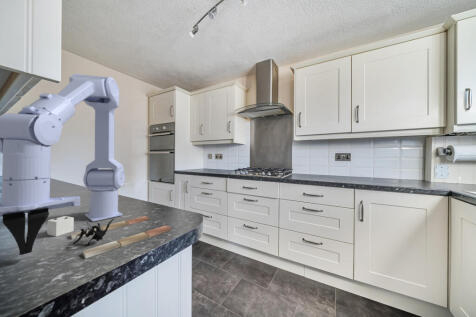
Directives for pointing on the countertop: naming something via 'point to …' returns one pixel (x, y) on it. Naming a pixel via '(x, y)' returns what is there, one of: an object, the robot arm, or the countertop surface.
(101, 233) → the creature
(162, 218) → the countertop surface
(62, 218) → the white rectangular block
